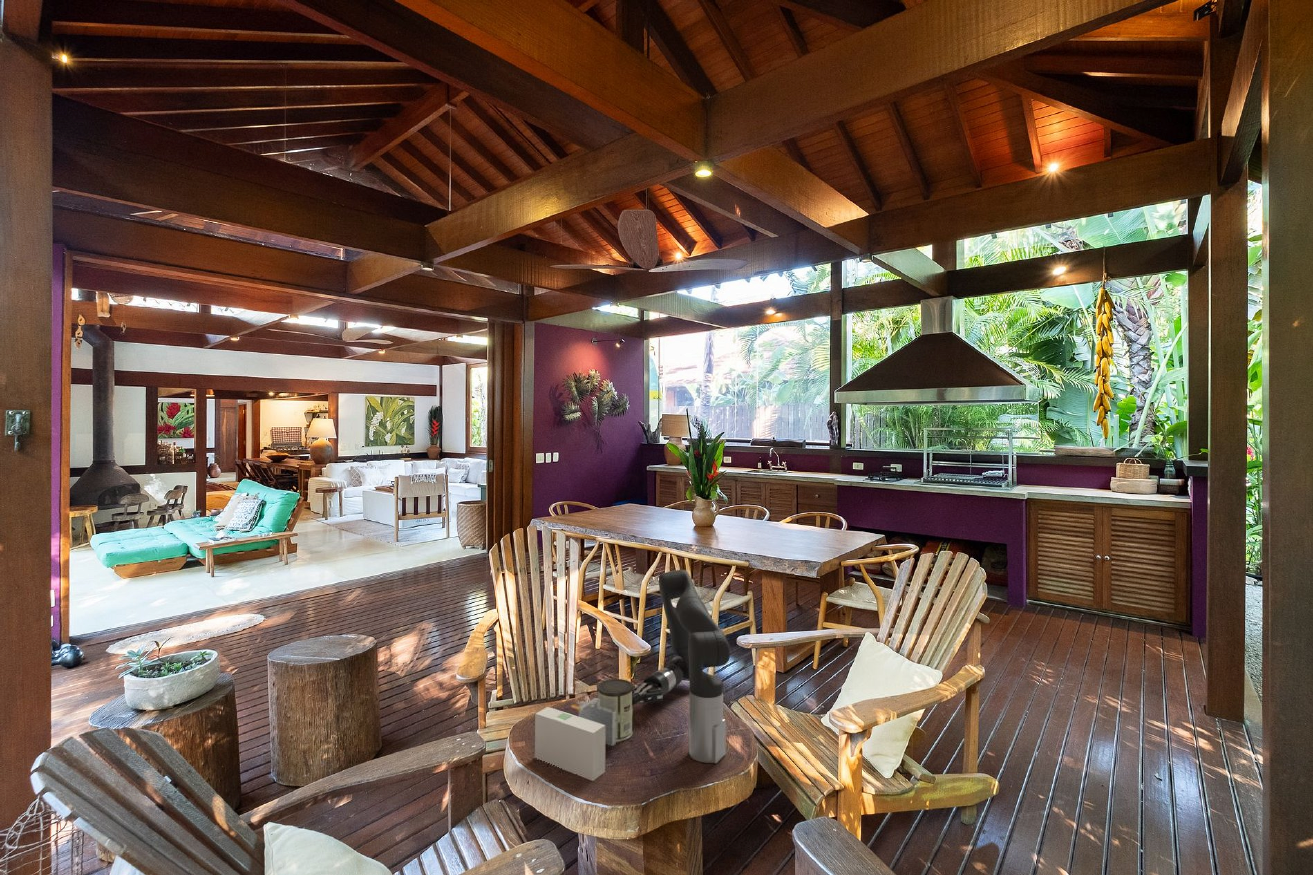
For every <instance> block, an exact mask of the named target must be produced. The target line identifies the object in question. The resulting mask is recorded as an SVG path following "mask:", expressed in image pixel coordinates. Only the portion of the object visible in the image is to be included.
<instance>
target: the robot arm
mask: <svg viewBox="0 0 1313 875" xmlns="http://www.w3.org/2000/svg"><path fill="white" fill-rule="evenodd" d="M658 585H659V586H658V588H659V592H660V597H661V602H662V606H663V610H664V615H665V618H666V620H667V625H668V629H669V635H670V642H671V649H672V652H673V654H675V655H676V656H673V657H672V658H671V659H670V661H669V662H668V664H667V665H666V666H664V667H663V668H660V669H659V670H657V671H655V672H653V673H652V674H649V675H648V676H646V677H645V678H644V680H643V682H642V683H638V684H637V685H635V684H633V689H632V707H633V706H634V705H636V704H638V703H643V702H644V703H645V704H649V703H654V702H661V701H663V697H664V696H665V695H667V694H668V693H670V691H672V690H673V689H674V688H676V687H677V686H679V684H680V683H681V682H682V681H683V679H685V680H688V682H689V701H688V702H689V715H688V716H689V717H688V718H689V722H688V724H689V725H688V726H689V728H688V730H689V731H688V732H689V733H688V734H689V735H688V736H689V737H688V740H689V742H688V743H689V744H688V748H689V749H688V750H689V756H690V757H691V758H692V760H694V761H696V762H700V763H706V764H709V763H711V764H712V763H713V764H718V762H719V761H720V760H721V759H723V757H724V756H725V755H726V754H727V749H726V748H727V735H726V734H727V720H726V719H725V718H724V683H723V681H722V679H721V678H719V677H717V676H715V675H712V674H710V673H706V672H704V669H703V668H716V667H717V668H718V667H723V666H725V665H727V663H729V661H730V657H731V648H730V645H729V642H728V639H727V637H726V635H725V634H724V631H723V630H722V629H721V628H720V627H719V625H717V623H716V622H715V621H714V619H713V618H712V616H711V615H710V613H709V611H708V608H707V607H706V605H705V603H704V602H703V600H702V598H701V597H700V595H699V593H698V592H697V590H696V587H695V585H694V582H693V580H692V577H691V575H690V574H689V572H688V571H687V570H686V569H677V570H671V571H666V572H662V573H660V574H659V577H658ZM675 599H678V600H677V602H676V605H675V607H674V605H673V602H672V600H675Z"/></svg>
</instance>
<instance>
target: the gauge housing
mask: <svg viewBox="0 0 1313 875" xmlns="http://www.w3.org/2000/svg"><path fill="white" fill-rule="evenodd" d="M534 715H535V716H534V718H535V719H534V720H535V721H534V759H535V758H537V759H536V760H538V759H540V760H542V761H541V762H543V761H545V762H544V763H546V762H547V763H546V764H548V763H550V764H549V765H551V764H552V765H551V766H553V765H555V766H554V767H556V766H557V767H556V768H558V767H559V769H561V768H562V769H561V770H563V771H566V772H569V773H571V774H575V775H576V774H577V776H580V777H582V778H585V779H586V780H589V781H591V782H594V781H595V780H596V779H598V778H599V777H600V776H602V775H603V774H605V772H606V744H605V725H603V724H600V723H597V722H594V721H591V720H588V719H584V718H581V717H579V715H578V716H577V715H574V714H572V713H568V712H565V711H562V710H559V709H556V708H554V707H550V706H547V707H544V708H543V709H541V710H540V711H538V712H535V714H534ZM540 760H539V761H540Z"/></svg>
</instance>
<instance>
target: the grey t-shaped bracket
mask: <svg viewBox="0 0 1313 875" xmlns="http://www.w3.org/2000/svg"><path fill="white" fill-rule="evenodd" d="M571 708H573V709H575V710H577V711H578V717H581V718H584V719H588V720H591V721H594V722H597V723H600V724H603V725H605V745H608V746H612V747H613V746H615V745H616V743H617V742H616V711H614V710H611V709H608V708H604V707H601V706H600V699H598V697H594V698H592V699H591V700H589V701H584V700H581V701H579V702H578V705H575V704H571Z"/></svg>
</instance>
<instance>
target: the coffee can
mask: <svg viewBox="0 0 1313 875" xmlns="http://www.w3.org/2000/svg"><path fill="white" fill-rule="evenodd" d="M633 686H634V684H633V683H632V682H631V681H629V680H627V679H622V678H612V679H605V680H603V681H602V682H600V683H598V686H597V692H598V695H597V698H598V699H600V706H601V707H604V708H608V709H611V710H614V711H616V743H618V742H624V741H625V740H628V739H630V738H631V737H632V736H633V733H634V732H633V706H632V689H633Z"/></svg>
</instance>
